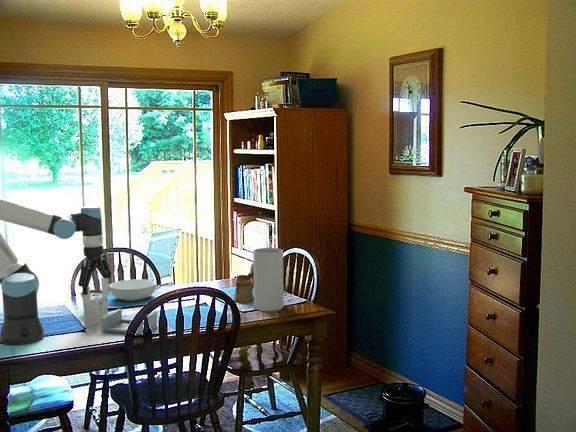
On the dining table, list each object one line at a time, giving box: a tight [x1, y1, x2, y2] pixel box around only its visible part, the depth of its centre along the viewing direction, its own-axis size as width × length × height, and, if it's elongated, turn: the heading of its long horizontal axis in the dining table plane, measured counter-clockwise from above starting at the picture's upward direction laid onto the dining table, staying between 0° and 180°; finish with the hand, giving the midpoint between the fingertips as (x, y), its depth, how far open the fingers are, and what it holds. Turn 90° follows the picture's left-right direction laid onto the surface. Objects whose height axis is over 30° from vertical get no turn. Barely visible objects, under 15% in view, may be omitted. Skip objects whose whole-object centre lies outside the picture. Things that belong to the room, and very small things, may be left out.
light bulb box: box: [82, 293, 109, 327], centre depth 265 cm, size 11×7×11 cm, turn 178°
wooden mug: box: [233, 261, 254, 304], centre depth 297 cm, size 9×14×18 cm, turn 125°
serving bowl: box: [109, 278, 157, 302], centre depth 302 cm, size 21×21×7 cm
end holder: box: [101, 308, 158, 336], centre depth 255 cm, size 13×16×6 cm
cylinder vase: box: [252, 247, 284, 313], centre depth 283 cm, size 12×12×25 cm
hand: (96, 298), depth 265 cm, fingers open, 13 cm apart
